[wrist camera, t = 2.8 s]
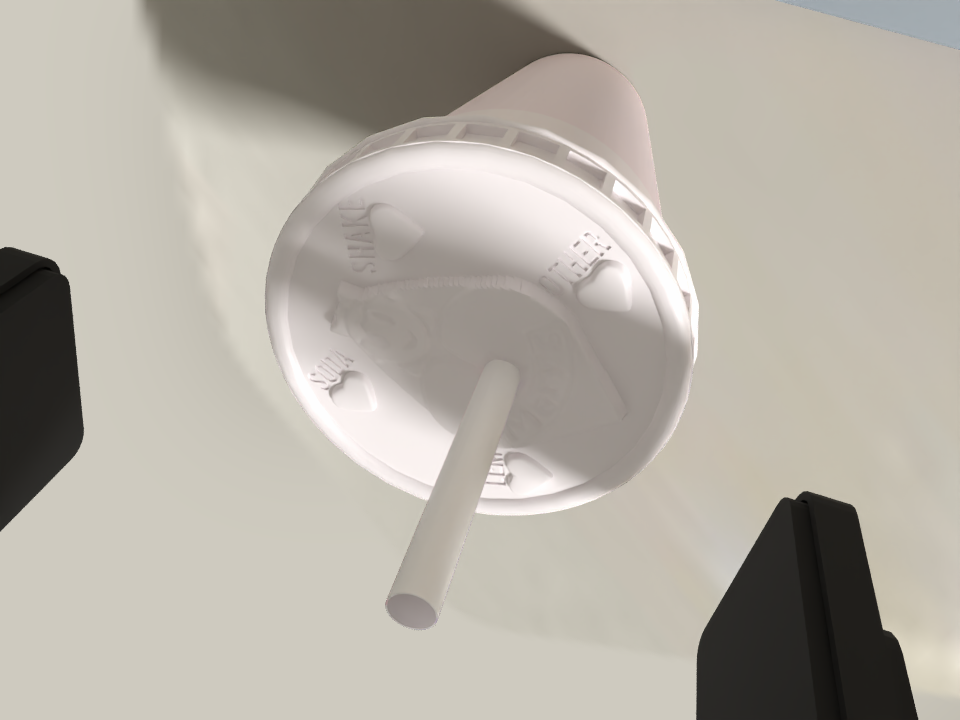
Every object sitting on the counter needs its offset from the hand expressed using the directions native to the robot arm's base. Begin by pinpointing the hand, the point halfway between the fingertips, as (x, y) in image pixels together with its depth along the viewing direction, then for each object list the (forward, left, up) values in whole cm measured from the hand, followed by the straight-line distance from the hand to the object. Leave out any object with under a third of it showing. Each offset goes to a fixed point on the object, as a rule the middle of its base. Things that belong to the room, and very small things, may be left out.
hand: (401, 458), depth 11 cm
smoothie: (-1, 0, -12) cm, 12 cm away
